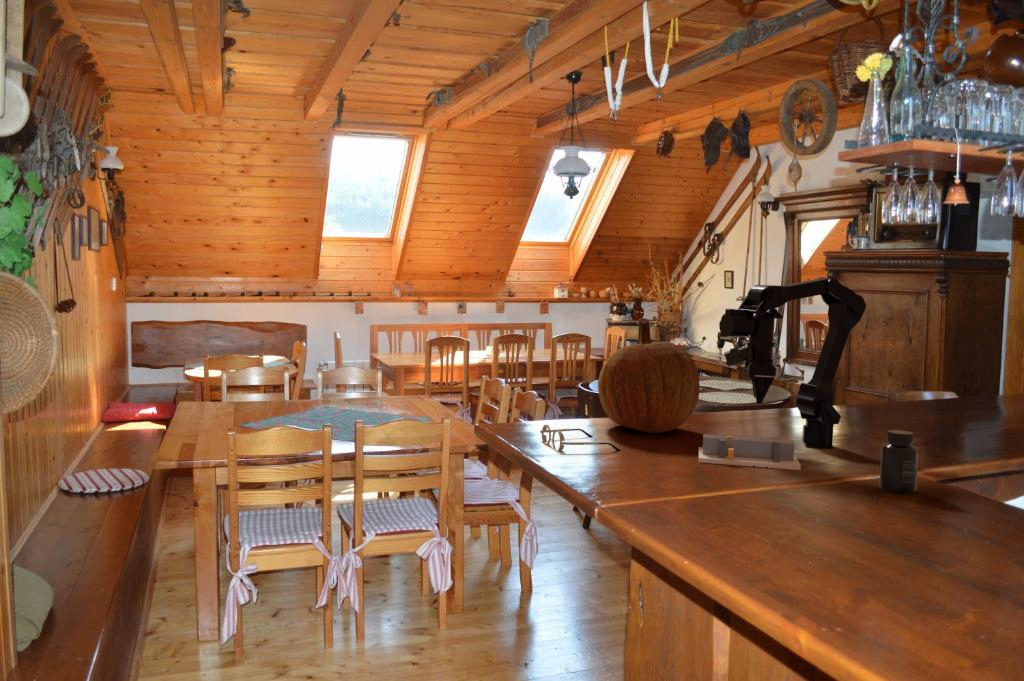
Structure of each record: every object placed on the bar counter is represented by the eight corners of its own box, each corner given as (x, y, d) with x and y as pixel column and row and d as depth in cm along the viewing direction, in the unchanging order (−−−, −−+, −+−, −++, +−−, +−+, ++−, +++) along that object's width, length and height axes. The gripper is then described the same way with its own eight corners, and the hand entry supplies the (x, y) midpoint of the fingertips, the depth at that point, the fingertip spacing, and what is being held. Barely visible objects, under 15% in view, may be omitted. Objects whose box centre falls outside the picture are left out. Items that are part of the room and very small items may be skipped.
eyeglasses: (537, 440, 209) (537, 421, 209) (592, 438, 214) (593, 418, 214) (563, 456, 193) (564, 434, 193) (622, 452, 198) (623, 432, 198)
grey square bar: (791, 457, 192) (792, 438, 191) (793, 461, 188) (794, 442, 188) (702, 450, 196) (703, 432, 196) (702, 454, 192) (703, 436, 192)
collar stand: (794, 458, 196) (795, 437, 195) (800, 470, 184) (801, 447, 183) (698, 450, 200) (699, 430, 200) (698, 462, 189) (699, 440, 188)
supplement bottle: (913, 487, 172) (917, 430, 170) (917, 496, 165) (922, 436, 164) (877, 484, 174) (881, 427, 173) (880, 492, 167) (884, 433, 166)
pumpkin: (575, 423, 231) (579, 315, 228) (658, 418, 242) (662, 315, 239) (626, 443, 206) (631, 323, 203) (716, 437, 217) (722, 322, 214)
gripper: (725, 332, 212) (722, 393, 214) (728, 338, 194) (724, 404, 196) (771, 334, 210) (767, 395, 211) (778, 341, 192) (774, 407, 193)
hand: (757, 400), depth 203 cm, fingers open, 9 cm apart
